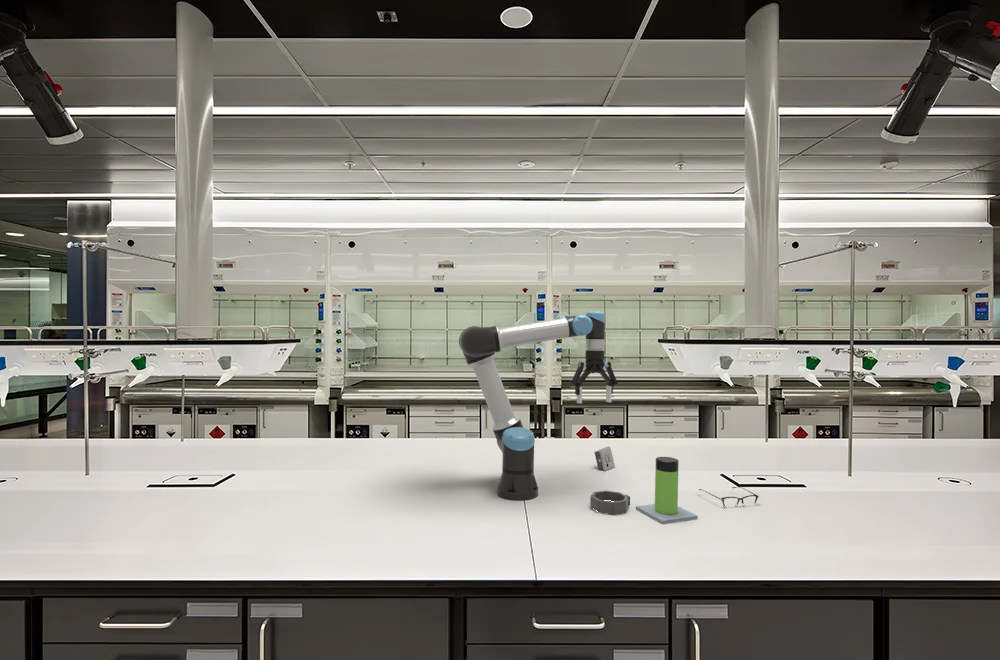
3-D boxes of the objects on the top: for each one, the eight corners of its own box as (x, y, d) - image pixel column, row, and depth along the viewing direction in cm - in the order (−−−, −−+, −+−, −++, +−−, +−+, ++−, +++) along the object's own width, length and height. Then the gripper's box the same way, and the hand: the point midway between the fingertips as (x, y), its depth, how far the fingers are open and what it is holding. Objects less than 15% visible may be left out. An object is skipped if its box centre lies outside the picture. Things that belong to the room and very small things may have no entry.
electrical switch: (605, 471, 224) (603, 450, 225) (594, 470, 227) (593, 449, 228) (615, 467, 231) (613, 446, 232) (604, 466, 235) (603, 445, 235)
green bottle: (660, 505, 179) (661, 455, 179) (680, 510, 174) (682, 459, 174) (650, 511, 174) (652, 459, 173) (672, 516, 169) (673, 463, 169)
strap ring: (603, 516, 171) (603, 503, 171) (585, 504, 182) (585, 492, 182) (638, 511, 176) (638, 499, 176) (618, 500, 187) (618, 489, 187)
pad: (662, 524, 165) (662, 520, 165) (635, 509, 178) (635, 506, 178) (697, 518, 170) (697, 515, 170) (669, 504, 183) (669, 502, 183)
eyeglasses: (720, 509, 180) (720, 498, 180) (693, 495, 196) (693, 484, 196) (761, 506, 184) (761, 494, 184) (731, 492, 200) (731, 481, 200)
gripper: (616, 349, 217) (615, 400, 218) (562, 349, 209) (562, 402, 209) (626, 350, 210) (625, 402, 211) (572, 350, 202) (571, 405, 202)
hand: (594, 402), depth 210 cm, fingers open, 13 cm apart
